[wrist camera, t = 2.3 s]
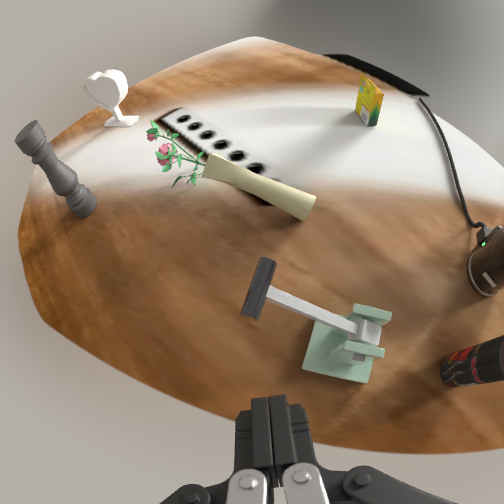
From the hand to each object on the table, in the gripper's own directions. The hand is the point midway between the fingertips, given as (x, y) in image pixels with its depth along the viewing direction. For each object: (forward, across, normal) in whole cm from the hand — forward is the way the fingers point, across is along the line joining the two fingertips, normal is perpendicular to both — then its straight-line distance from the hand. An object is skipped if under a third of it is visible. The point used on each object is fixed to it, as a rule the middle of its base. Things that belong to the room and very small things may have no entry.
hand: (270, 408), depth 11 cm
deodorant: (+17, -29, +24) cm, 41 cm away
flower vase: (+46, +4, -6) cm, 47 cm away
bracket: (+24, -10, +17) cm, 31 cm away
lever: (+15, -5, +5) cm, 17 cm away
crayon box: (+60, -32, -18) cm, 70 cm away
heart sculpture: (+71, +34, -30) cm, 85 cm away
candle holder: (+49, +37, -8) cm, 62 cm away
